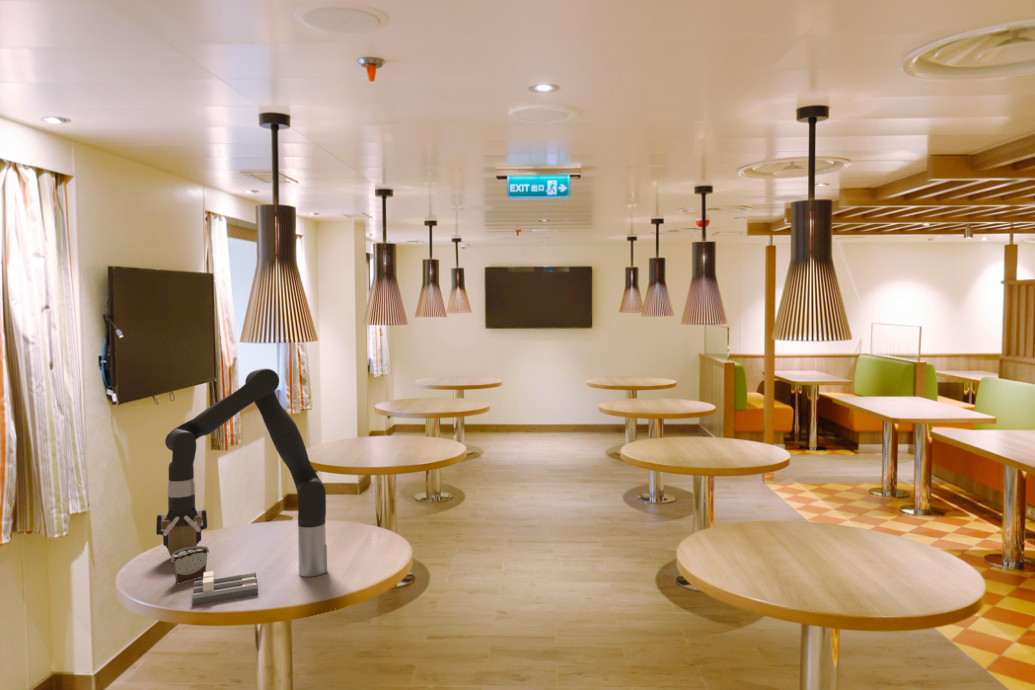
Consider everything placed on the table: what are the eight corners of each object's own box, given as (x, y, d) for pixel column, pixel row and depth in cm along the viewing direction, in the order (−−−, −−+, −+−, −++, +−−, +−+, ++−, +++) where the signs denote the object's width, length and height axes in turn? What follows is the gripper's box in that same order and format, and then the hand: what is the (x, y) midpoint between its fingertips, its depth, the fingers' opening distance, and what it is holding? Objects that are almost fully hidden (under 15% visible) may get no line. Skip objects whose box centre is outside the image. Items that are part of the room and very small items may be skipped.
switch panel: (256, 581, 219) (256, 572, 219) (258, 594, 208) (257, 584, 208) (194, 591, 211) (193, 581, 211) (192, 605, 200) (192, 594, 200)
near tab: (213, 588, 208) (213, 576, 207) (213, 593, 204) (213, 581, 203) (203, 590, 206) (203, 578, 206) (203, 595, 202) (202, 582, 202)
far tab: (214, 582, 213) (213, 570, 213) (213, 587, 209) (213, 575, 209) (203, 584, 211) (203, 572, 211) (203, 589, 207) (203, 576, 207)
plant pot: (212, 550, 252) (211, 509, 252) (188, 563, 237) (187, 520, 237) (176, 549, 253) (175, 509, 253) (151, 563, 239) (150, 520, 238)
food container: (201, 571, 230) (201, 543, 229) (209, 575, 226) (209, 546, 225) (165, 581, 220) (164, 552, 220) (172, 585, 216) (172, 556, 216)
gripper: (207, 488, 208) (208, 538, 208) (156, 493, 202) (157, 544, 202) (206, 493, 201) (207, 545, 201) (154, 498, 195) (155, 552, 195)
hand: (182, 544), depth 202 cm, fingers open, 8 cm apart
